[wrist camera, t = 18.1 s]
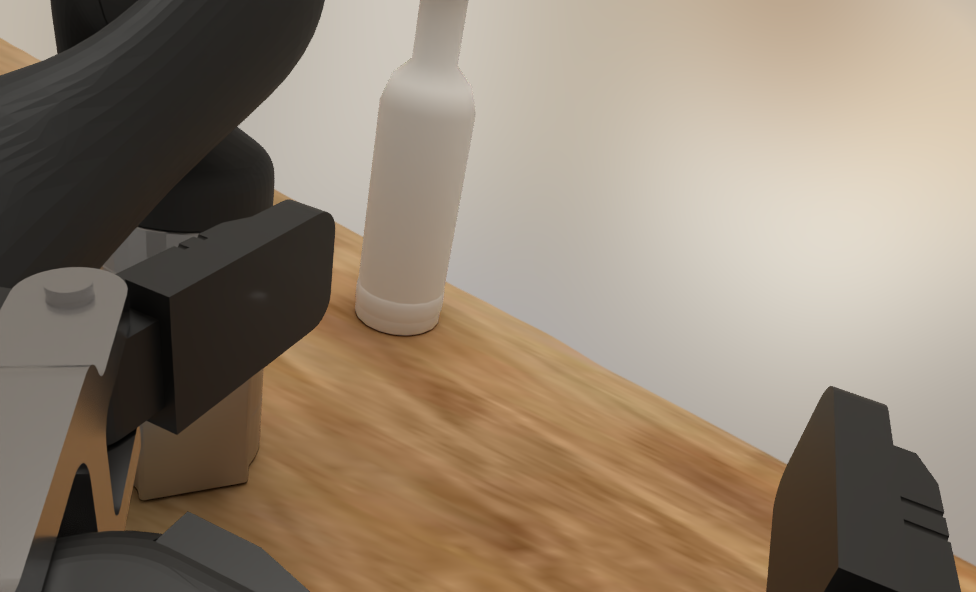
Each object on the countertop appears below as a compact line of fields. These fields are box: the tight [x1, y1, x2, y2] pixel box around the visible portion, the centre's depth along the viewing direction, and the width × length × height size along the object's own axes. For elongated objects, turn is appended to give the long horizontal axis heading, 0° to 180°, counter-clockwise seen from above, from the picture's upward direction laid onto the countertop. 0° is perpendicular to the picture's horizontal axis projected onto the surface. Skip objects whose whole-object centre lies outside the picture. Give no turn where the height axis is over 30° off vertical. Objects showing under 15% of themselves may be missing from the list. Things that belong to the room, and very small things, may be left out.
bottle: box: [355, 0, 475, 336], centre depth 61 cm, size 8×8×30 cm
